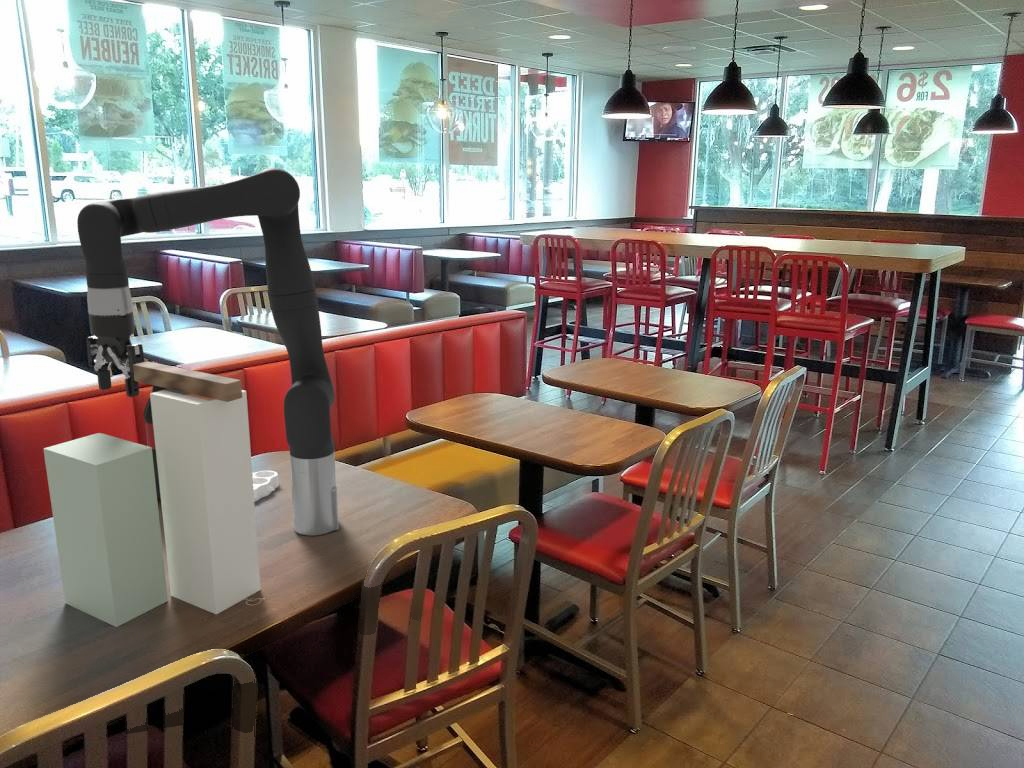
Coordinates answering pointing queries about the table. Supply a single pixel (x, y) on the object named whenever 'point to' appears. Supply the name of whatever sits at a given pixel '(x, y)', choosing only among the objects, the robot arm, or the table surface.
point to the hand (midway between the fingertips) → (119, 392)
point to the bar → (188, 381)
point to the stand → (206, 498)
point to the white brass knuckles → (264, 483)
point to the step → (107, 526)
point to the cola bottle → (152, 437)
